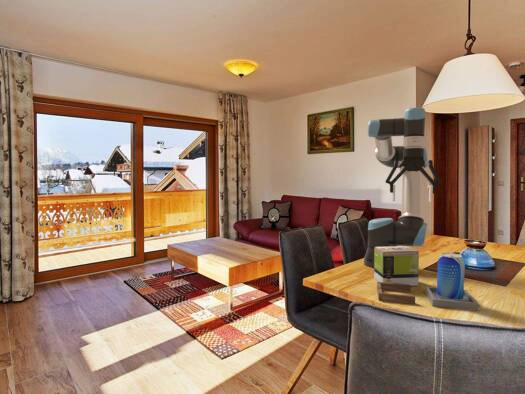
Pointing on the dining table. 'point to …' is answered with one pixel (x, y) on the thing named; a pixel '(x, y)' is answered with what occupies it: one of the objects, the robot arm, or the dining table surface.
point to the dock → (394, 296)
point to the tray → (465, 303)
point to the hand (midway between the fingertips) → (411, 201)
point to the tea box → (396, 265)
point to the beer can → (450, 277)
